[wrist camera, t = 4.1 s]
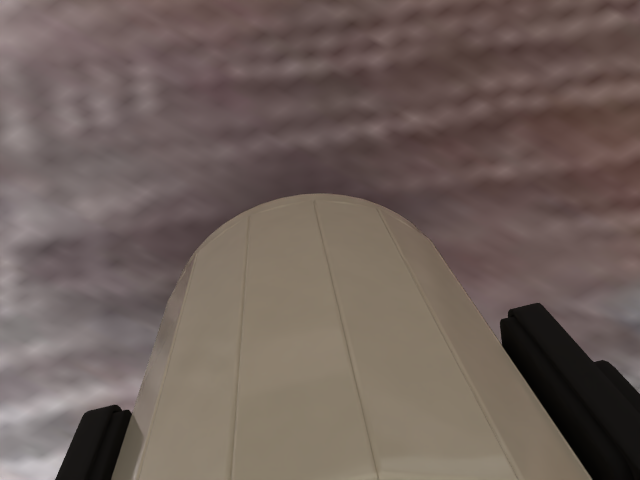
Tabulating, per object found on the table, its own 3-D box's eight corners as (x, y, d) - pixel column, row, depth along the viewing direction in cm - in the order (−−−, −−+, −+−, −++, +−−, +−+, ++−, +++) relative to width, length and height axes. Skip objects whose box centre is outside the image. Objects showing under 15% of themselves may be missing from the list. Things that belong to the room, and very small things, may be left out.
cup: (125, 234, 12) (-78, 583, 5) (435, 159, 12) (687, 400, 5) (218, 464, 15) (174, 899, 8) (470, 404, 15) (661, 786, 8)
